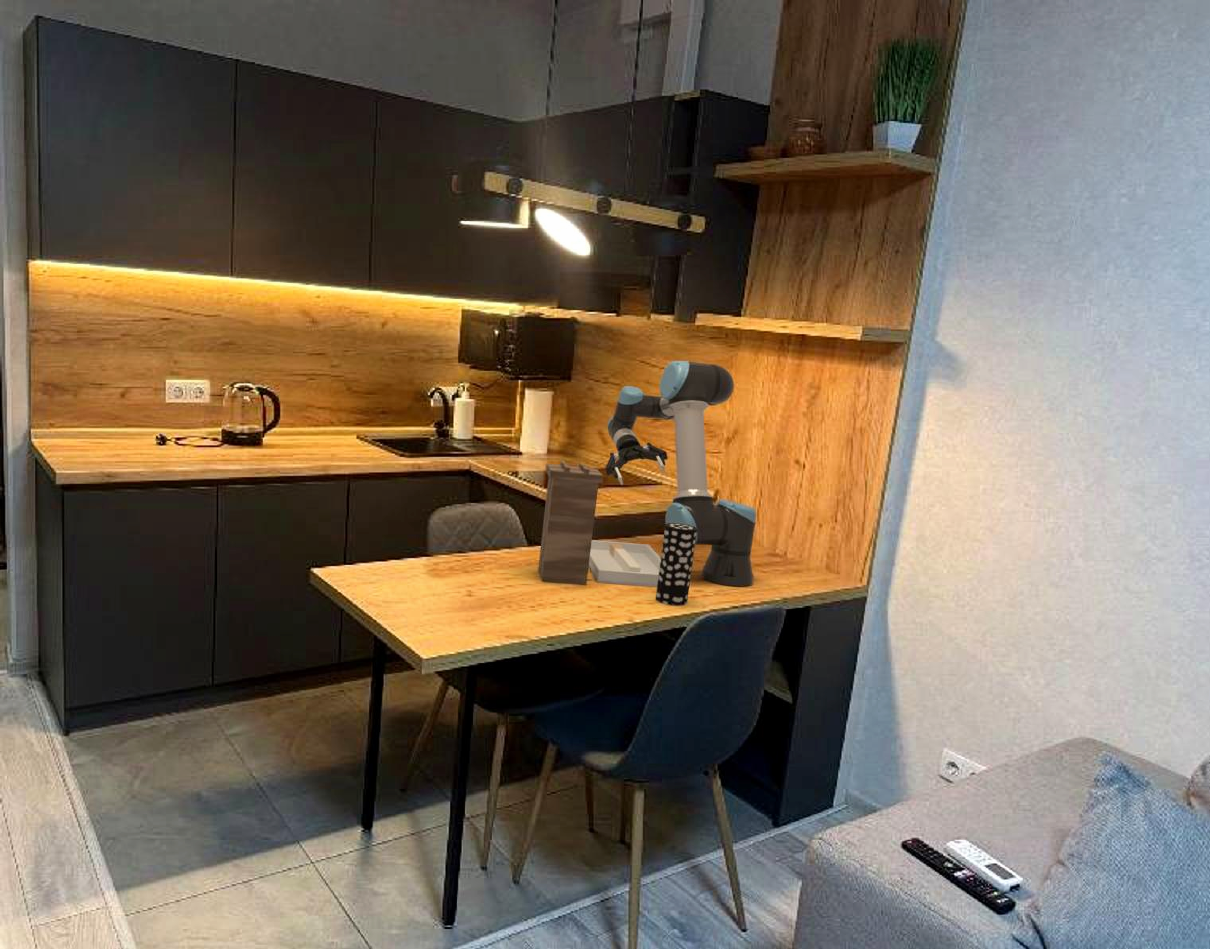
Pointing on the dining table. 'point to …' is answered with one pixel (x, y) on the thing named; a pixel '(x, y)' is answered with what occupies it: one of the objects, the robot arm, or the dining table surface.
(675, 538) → the spotted tube
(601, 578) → the tray
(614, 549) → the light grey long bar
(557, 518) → the stand
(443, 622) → the dining table surface
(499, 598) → the dining table surface
